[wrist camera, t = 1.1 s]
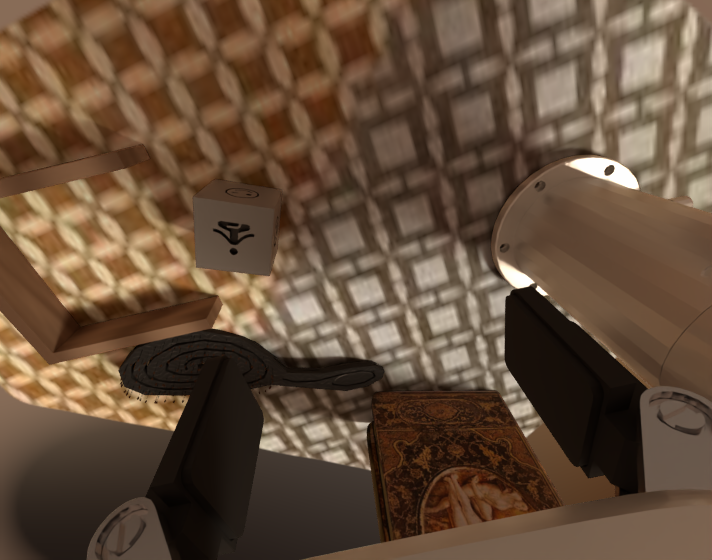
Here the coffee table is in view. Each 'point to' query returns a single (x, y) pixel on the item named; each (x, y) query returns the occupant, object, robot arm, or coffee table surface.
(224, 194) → the dice cube
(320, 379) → the hairbrush
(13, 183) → the box
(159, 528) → the robot arm
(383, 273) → the coffee table surface
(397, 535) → the book
